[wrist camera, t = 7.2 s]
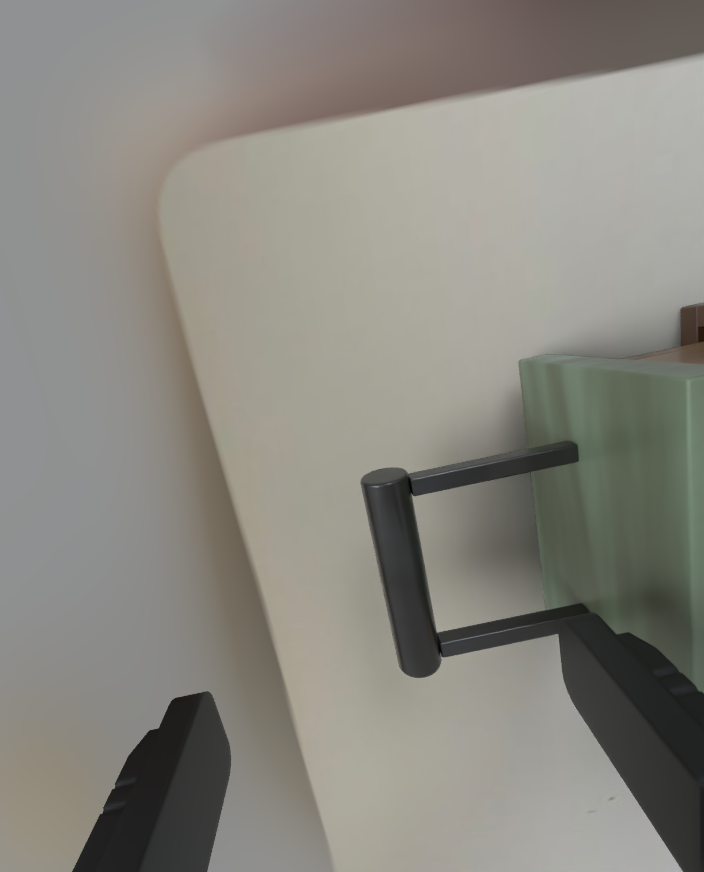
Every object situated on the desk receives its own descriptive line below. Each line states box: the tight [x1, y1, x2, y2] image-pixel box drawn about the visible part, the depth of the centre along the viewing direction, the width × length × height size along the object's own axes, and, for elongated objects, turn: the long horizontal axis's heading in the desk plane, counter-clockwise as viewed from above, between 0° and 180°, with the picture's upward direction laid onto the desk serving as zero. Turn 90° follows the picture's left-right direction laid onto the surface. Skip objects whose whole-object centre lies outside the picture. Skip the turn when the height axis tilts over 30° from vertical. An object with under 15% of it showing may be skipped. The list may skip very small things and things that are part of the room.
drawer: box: [361, 342, 704, 693], centre depth 13 cm, size 20×11×8 cm, turn 102°
